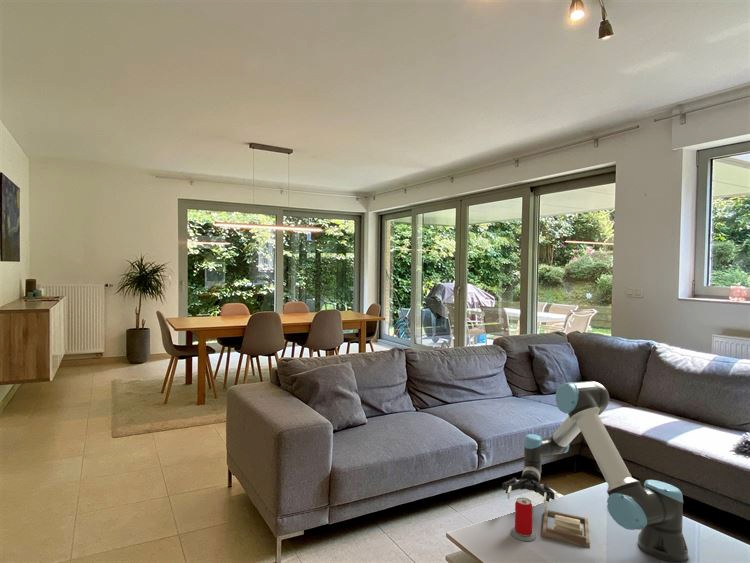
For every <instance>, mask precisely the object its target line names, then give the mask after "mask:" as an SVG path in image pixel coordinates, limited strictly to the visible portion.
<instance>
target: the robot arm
mask: <svg viewBox="0 0 750 563" xmlns="http://www.w3.org/2000/svg"><path fill="white" fill-rule="evenodd" d="M555 403H556V406H557V408H558V409H559V411H560V412H562V413H564V414H567V415H568V416H567V417H566V419H565V420H564V421H563V422H562V423H561V424H560V426H559V427H558V428H557V429H556V430H555V431H554V433H553V434H551V436H550V437H545V438H542V436H540V435H538V434H533V433H529V434H526V435H525V436H524V443H523V450H524V451H523V452H524V453H523V456H524V457H523V470H522V474H521V477H520V479H517V477H516V476H515V477H512V479H511V478H510V479H509V480H507V481H505V482H502V490H503V491H505V494H507V497H506V498H507V500H510V498H511V495H512V492H513V491H518V490H521V491H522V490H527V491H532V492H535V493H536V494H537V493H538V494H539V495H540V496H542V497H543V507H546V506H547V502H550V500H554V501H555V492H554V491H553V489H551V488H550V487H549V486H548V483H547V482H543V483H542V484H541V482H540V481H541V474H542V472H543V471H542V470H543V468H542V457H546V456H554V455H562V454H566V453H568V452H569V450H570V443H571V442H572V441H573V440H574V439H575V438H576V437H577V435H579V433H581V434H582V435H583V438H584V440H585V442H586V443H587V445H588V447H589V450H590V451H591V454H592V455H593V457H594V458H593V459H594V460H595V461H596V464H597V465H598V468H599V469H600V471H601V474H602V475H603V477H604V479H605V482H606V483H607V485H608V487H607V490H606V493H607V495H608V497H607V500H606V503H607V505H606V507H607V510H608V513H609V515H610V517H611V518H612V520H613V521H614V522H615V523H616V524H617V525H618V526H620V527H622V528H623V529H625V530H631V531H633V530H634V531H636V530H640V532H639V533H638V535H637V545H638V546H639V548H640V549H641V550H642V551H644V552H645V553H647V555H650V556H652V557H654V558H657V559H660V560H663V561H667V562H674V563H680V562H684V561H687V560H688V558H689V549H688V546H687V543H686V540H685V536H684V534H683V521H684V520H683V517H684V516H683V511H684V510H683V508H684V507H683V506H684V498H683V493H682V491H681V490H680V488H678V487H676V486H674V485H673V484H670V483H667V482H665V481H660V480H655V479H646V480H644V483H643V486H644V487H643V486H642V484H641V482H640V480H637V479H635V478H633V477H632V474H631V473H630V471H629V469H628V467H627V466H626V464H625V461H624V460H623V458H622V457H621V454H620V452H619V450H618V449H617V447H616V445H615V443H614V442H613V440H612V438H611V436H610V434H609V432H608V430H607V428H606V426H605V425H604V423H603V421H602V419H601V417H600V415H602V413H603V412H604V411H605V409H607V407H608V405H609V403H610V394H609V392H608V389H607V388H606V386H604V385H603V384H601V383H599V382H597V381H593V380H587V381H575V382H573V381H570V382H566V383H564V382H563V383H561V384H560V385H559V386H558V388H557V389H556V391H555Z"/></svg>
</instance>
